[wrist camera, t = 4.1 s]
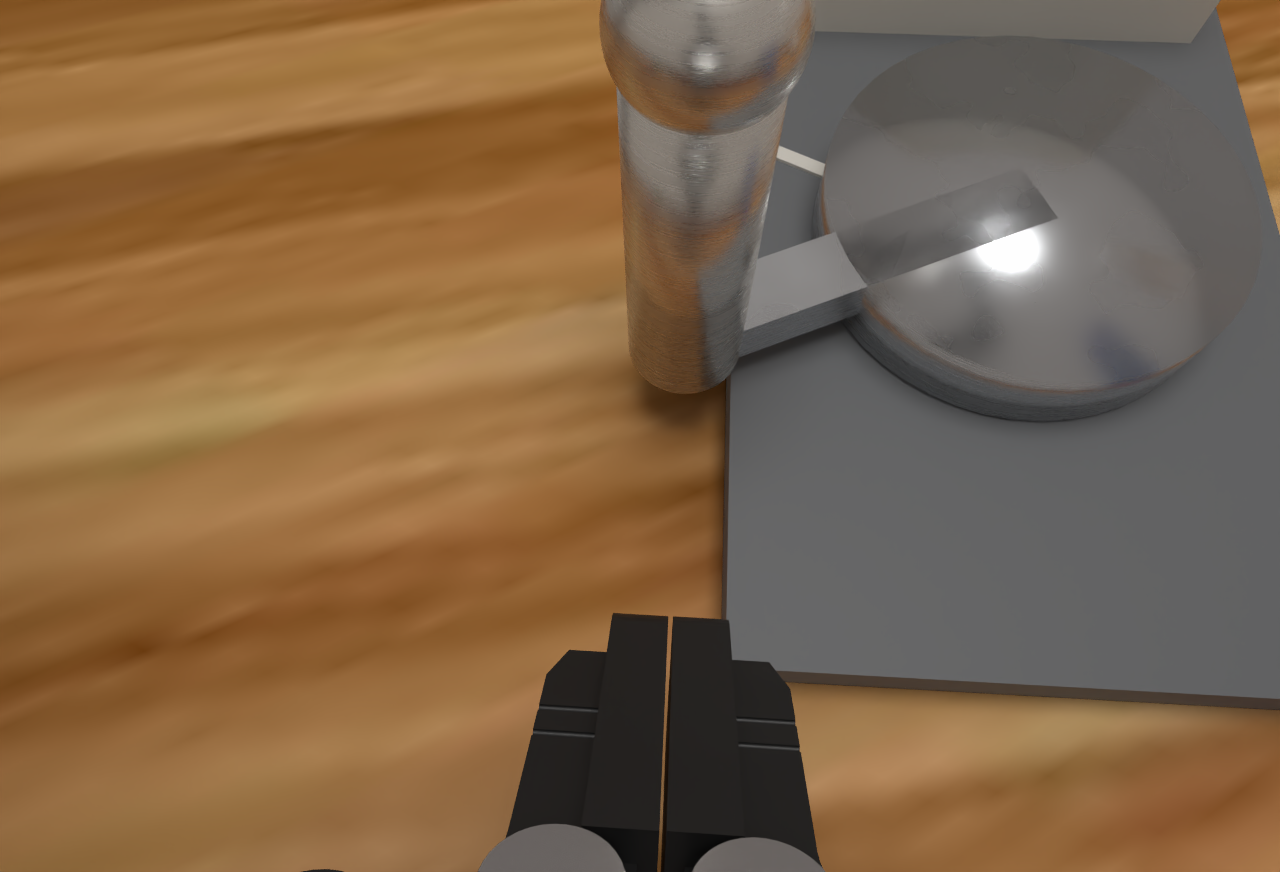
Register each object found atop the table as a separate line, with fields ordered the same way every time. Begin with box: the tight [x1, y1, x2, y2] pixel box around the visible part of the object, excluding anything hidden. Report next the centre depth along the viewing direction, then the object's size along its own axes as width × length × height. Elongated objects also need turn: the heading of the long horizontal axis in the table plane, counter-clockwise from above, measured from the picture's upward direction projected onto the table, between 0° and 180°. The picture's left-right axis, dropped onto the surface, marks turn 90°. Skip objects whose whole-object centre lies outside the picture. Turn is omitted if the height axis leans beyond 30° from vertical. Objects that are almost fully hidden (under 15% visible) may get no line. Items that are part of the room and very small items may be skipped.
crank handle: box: [599, 0, 1262, 421], centre depth 17 cm, size 16×10×11 cm, turn 112°
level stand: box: [722, 0, 1280, 710], centre depth 21 cm, size 14×22×6 cm, turn 177°
